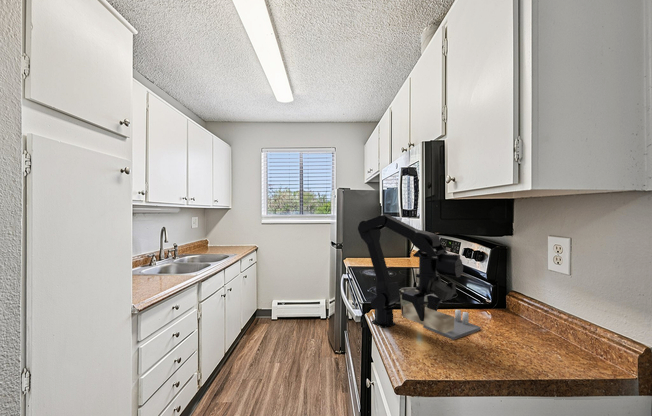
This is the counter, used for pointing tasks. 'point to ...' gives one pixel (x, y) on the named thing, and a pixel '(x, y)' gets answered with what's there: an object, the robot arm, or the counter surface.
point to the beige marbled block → (430, 318)
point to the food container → (407, 301)
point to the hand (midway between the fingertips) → (427, 319)
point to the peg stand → (458, 327)
